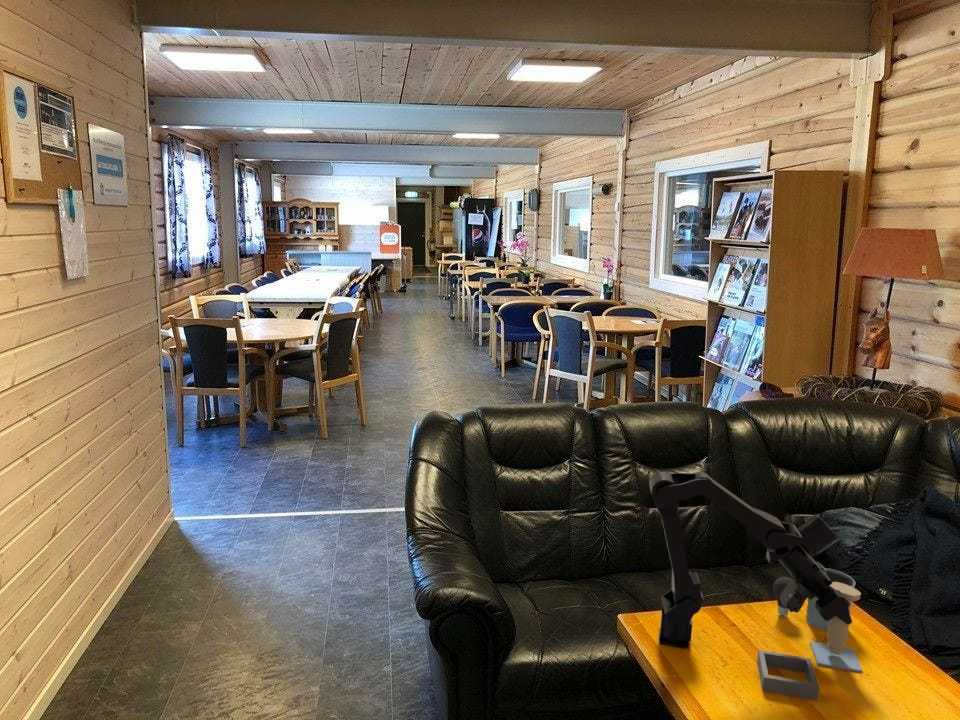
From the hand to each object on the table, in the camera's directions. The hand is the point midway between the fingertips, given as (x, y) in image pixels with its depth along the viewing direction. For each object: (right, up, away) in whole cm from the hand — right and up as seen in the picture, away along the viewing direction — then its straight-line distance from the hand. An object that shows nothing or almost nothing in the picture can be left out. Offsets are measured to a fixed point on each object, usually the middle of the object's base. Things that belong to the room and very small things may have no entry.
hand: (846, 617), depth 160 cm
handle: (-2, -8, +1) cm, 8 cm away
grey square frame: (-17, -11, -8) cm, 21 cm away
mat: (-2, -10, +2) cm, 10 cm away
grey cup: (+4, -7, +17) cm, 19 cm away
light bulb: (-6, -7, +19) cm, 21 cm away
